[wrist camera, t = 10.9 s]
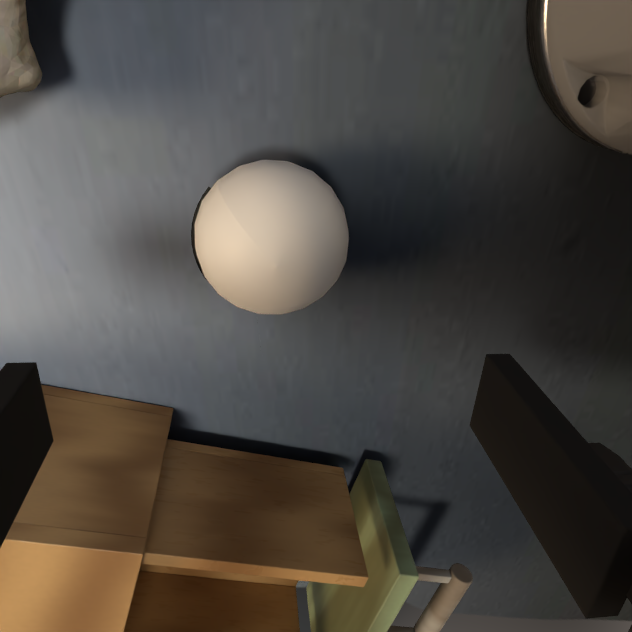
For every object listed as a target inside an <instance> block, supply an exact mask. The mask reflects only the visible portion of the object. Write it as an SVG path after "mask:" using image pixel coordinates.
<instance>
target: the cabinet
mask: <svg viewBox="0 0 632 632" xmlns="http://www.w3.org/2000/svg"><path fill="white" fill-rule="evenodd" d="M41 386H42V391H43V395H44V400H45V404H46V409H47V413H48V418H49V422H50V427H51V431H52V435H53V440H54V441H53V443H52V445H51V447H50V449H49V451H48V453H47V455H46V457H45V459H44V461H43V463H42V465H41V467H40V469H39V471H38V473H37V475H36V477H35V479H34V481H33V483H32V485H31V487H30V489H29V491H28V493H27V495H26V497H25V499H24V501H23V504H22V506H21V508H20V510H19V512H18V514H17V516H16V518H15V520H14V522H13V524H12V526H11V528H10V530H9V532H8V534H7V536H6V538H5V540H4V542H3V544H2V546H1V548H0V632H124V629H125V625H126V621H127V618H128V614H129V610H130V606H131V602H132V598H133V594H134V590H135V586H136V582H137V578H138V575H139V571H140V567H141V563H142V559H143V555H144V550H145V545H146V541H147V536H148V531H149V526H150V521H151V516H152V511H153V507H154V502H155V497H156V492H157V487H158V482H159V477H160V473H161V468H162V463H163V458H164V453H165V448H166V443H167V439H168V434H169V429H170V424H171V419H172V414H173V408H169V407H164V406H158V405H153V404H147V403H141V402H136V401H130V400H125V399H119V398H113V397H108V396H102V395H97V394H91V393H86V392H80V391H74V390H69V389H63V388H58V387H52V386H47V385H41Z"/></svg>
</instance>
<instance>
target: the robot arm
mask: <svg viewBox="0 0 632 632" xmlns="http://www.w3.org/2000/svg"><path fill="white" fill-rule="evenodd" d="M527 33H528V45H529V52H530V57H531V63H532V67H533V70H534V74H535V77H536V80H537V83H538V85H539V88H540V90H541V92H542V94H543V96H544V98H545V100H546V102H547V104H548V105H549V107H550V108H551V110H552V111H553V113H554V114H555V115H556V116H557V117H558V119H559V120H560V121H561V122H562V123H563V124H564V125H565V126H566V127H567V128H568V129H569V130H571V131H572V132H573V133H574V134H576V135H577V136H579V137H580V138H582V139H584V140H586V141H588V142H590V143H592V144H594V145H597V146H600V147H602V148H605V149H609V150H613V151H617V152H621V153H624V154H629V155H632V0H528V12H527ZM470 427H471V428H472V430H473V432H474V433H475V435H476V437H477V438H478V440H479V442H480V443H481V445H482V447H483V448H484V450H485V452H486V453H487V455H488V456H489V458H490V460H491V461H492V463H493V465H494V466H495V468H496V470H497V471H498V473H499V475H500V476H501V478H502V480H503V481H504V483H505V485H506V486H507V488H508V490H509V491H510V493H511V495H512V496H513V498H514V500H515V501H516V503H517V505H518V506H519V508H520V510H521V511H522V513H523V515H524V516H525V518H526V520H527V521H528V523H529V525H530V526H531V528H532V530H533V531H534V533H535V535H536V536H537V538H538V540H539V541H540V543H541V545H542V546H543V548H544V550H545V551H546V553H547V555H548V556H549V558H550V560H551V561H552V563H553V565H554V566H555V568H556V570H557V571H558V573H559V575H560V576H561V578H562V580H563V581H564V583H565V585H566V586H567V588H568V590H569V591H570V593H571V595H572V596H573V598H574V599H575V601H576V603H577V604H578V606H579V608H580V609H581V611H582V613H583V614H584V616H585V618H596V617H607V616H618V614H619V612H620V610H621V608H622V606H623V604H624V602H625V600H626V598H628V599H629V601H630V602H631V604H632V469H631V468H630V467H629V466H628V465H627V464H626V463H625V462H624V461H623V460H622V458H621V457H620V456H618V455H617V454H615V453H614V452H612V451H611V450H609V449H608V448H607V447H605V446H604V445H602V444H601V443H587V442H586V440H585V439H584V438H583V437H582V436H581V435H580V434H579V432H578V431H577V430H576V429H575V428H574V427H573V426H572V424H571V423H570V422H569V421H568V420H567V419H566V418H565V416H564V415H563V414H562V413H561V412H560V411H559V410H558V408H557V407H556V406H555V405H554V404H553V403H552V402H551V400H550V399H549V398H548V397H547V396H546V395H545V394H544V392H543V391H542V390H541V389H540V388H539V387H538V386H537V385H536V383H535V382H534V381H533V380H532V379H531V378H530V377H529V375H528V374H527V373H526V372H525V371H524V370H523V369H522V367H521V366H520V365H519V364H518V363H517V362H516V361H515V359H514V358H513V357H512V356H511V355H510V354H486V358H485V362H484V366H483V371H482V375H481V379H480V384H479V388H478V392H477V396H476V401H475V405H474V409H473V414H472V418H471V422H470ZM53 441H54V440H53V435H52V431H51V427H50V422H49V418H48V413H47V409H46V404H45V400H44V395H43V391H42V386H41V382H40V378H39V373H38V369H37V364H36V363H6V364H5V366H4V367H3V368H2V369H1V371H0V548H1V546H2V544H3V542H4V540H5V538H6V536H7V534H8V532H9V530H10V528H11V526H12V524H13V522H14V520H15V518H16V516H17V514H18V512H19V510H20V508H21V506H22V504H23V501H24V499H25V497H26V495H27V493H28V491H29V489H30V487H31V485H32V483H33V481H34V479H35V477H36V475H37V473H38V471H39V469H40V467H41V465H42V463H43V461H44V459H45V457H46V455H47V453H48V451H49V449H50V447H51V445H52V443H53ZM628 632H632V625H631V627H630V629H629V631H628Z"/></svg>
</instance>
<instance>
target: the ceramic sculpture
mask: <svg viewBox="0 0 632 632" xmlns="http://www.w3.org/2000/svg"><path fill="white" fill-rule="evenodd" d="M41 77H42V72H41V69H40V66H39V64H38V61H37V59H36V56H35V52H34V50H33V48H32V46H31V44H30V40H29V32H28V23H27V17H26V0H0V97H2V96H4V95H7V94H12V93H16V92H29V91H32V90H34V89H35V88H36V87H37V86H38V84H39V83H40V82H41Z"/></svg>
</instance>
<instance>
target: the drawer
mask: <svg viewBox="0 0 632 632" xmlns="http://www.w3.org/2000/svg"><path fill="white" fill-rule="evenodd" d="M298 580H301V581H309V584H308V586H307V588H306V590H307V599H308V608H309V617H310V625H311V632H440V630H441V629H442V627H443V626H444V624H445V623H446V621H447V620H448V618H449V616H450V615H451V613H452V612H453V610H454V609H455V607H456V606H457V604H458V603H459V601H460V600H461V598H462V597H463V595H464V594H465V592H466V590H467V589H468V587H469V586H470V584H471V583H472V581H473V577H472V574H471V572H470V571H469V569H468V568H467V567H465V566H464V565H462V564H459V563H455V564H453V565H452V566H451V567H450V569H449V570H444V569H436V568H427V567H419V566H415V563H414V560H413V557H412V554H411V551H410V548H409V545H408V542H407V539H406V536H405V533H404V530H403V526H402V523H401V520H400V517H399V514H398V511H397V508H396V505H395V502H394V499H393V496H392V493H391V490H390V487H389V484H388V481H387V478H386V475H385V472H384V469H383V466H382V463H381V461H376V460H370V459H366V460H365V462H364V464H363V466H362V468H361V470H360V473H359V475H358V477H357V479H356V481H355V483H354V486H353V488H352V490H351V492H350V494H349V491H348V487H347V482H346V478H345V474H344V470H343V468H340V467H334V466H328V465H322V464H316V463H310V462H304V461H298V460H292V459H286V458H280V457H274V456H267V455H261V454H255V453H249V452H243V451H237V450H231V449H225V448H219V447H213V446H207V445H201V444H195V443H188V442H182V441H176V440H170V439H167V443H166V448H165V453H164V458H163V463H162V468H161V473H160V477H159V482H158V487H157V492H156V497H155V502H154V507H153V511H152V516H151V521H150V526H149V531H148V536H147V541H146V545H145V550H144V555H143V559H142V563H141V567H140V571H139V575H138V578H137V582H136V586H135V590H134V594H133V598H132V602H131V606H130V610H129V614H128V618H127V621H126V625H125V629H124V632H300V628H299V618H298V607H297V596H296V584H297V582H298ZM417 580H421V581H430V582H439V583H441V584H440V585H439V587H438V589H437V590H436V592H435V593H434V595H433V597H432V598H431V600H430V602H429V603H428V605H427V606H426V608H425V610H424V611H423V613H422V615H421V616H420V618H419V619H418V621H417V623H416V624H415V626H414V628H412V627H400V626H391V624H392V622H393V621H394V619H395V617H396V615H397V614H398V612H399V611H400V609H401V607H402V605H403V604H404V602H405V600H406V599H407V597H408V595H409V593H410V592H411V590H412V588H413V587H414V585H415V583H416V581H417Z"/></svg>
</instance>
